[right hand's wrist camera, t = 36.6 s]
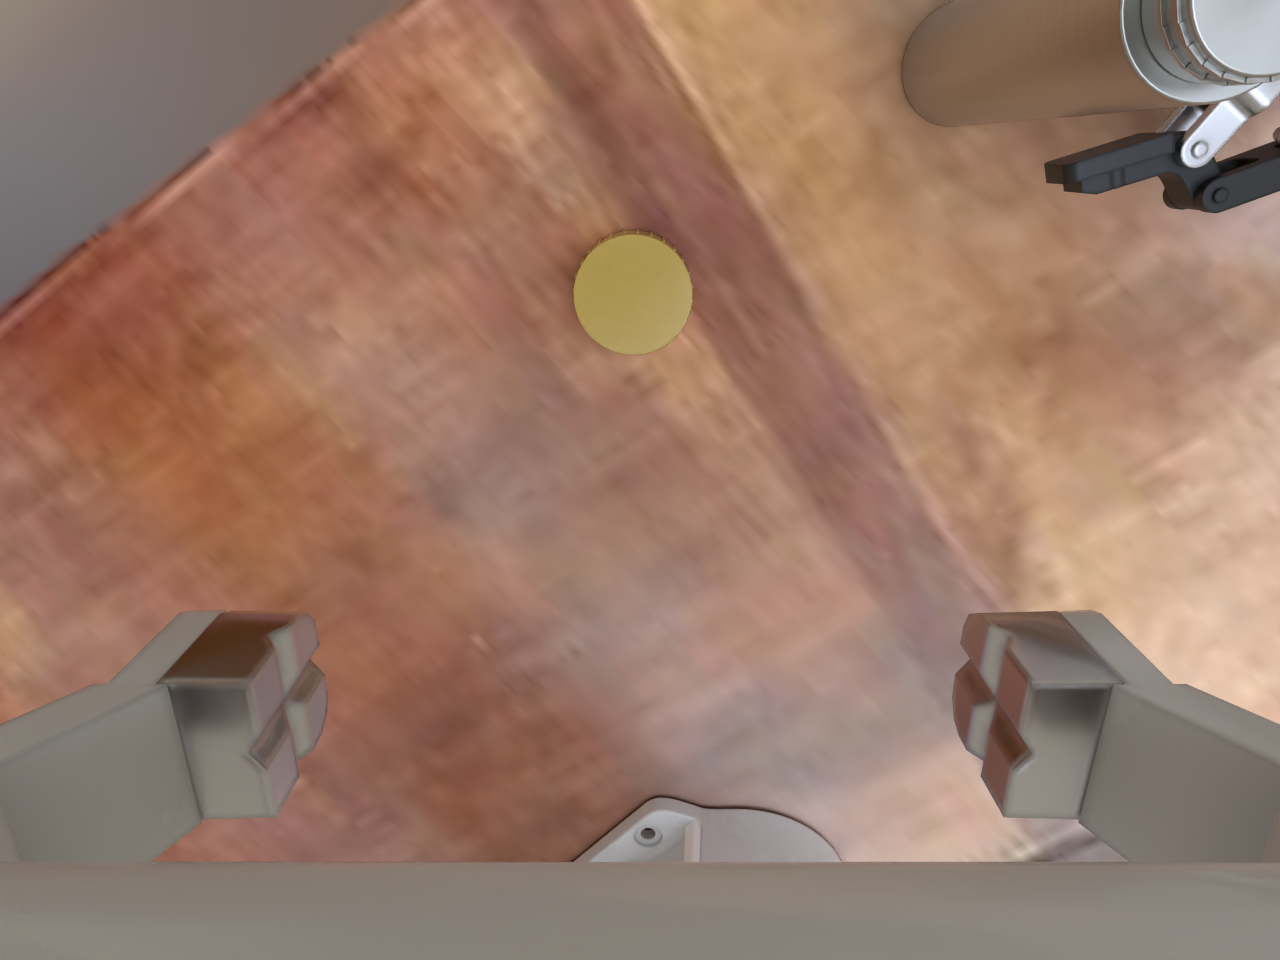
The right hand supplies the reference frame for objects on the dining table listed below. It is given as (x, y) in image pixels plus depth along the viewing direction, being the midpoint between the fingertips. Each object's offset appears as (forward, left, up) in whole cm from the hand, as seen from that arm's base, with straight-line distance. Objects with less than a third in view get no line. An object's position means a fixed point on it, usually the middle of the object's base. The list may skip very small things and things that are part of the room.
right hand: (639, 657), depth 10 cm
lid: (0, 0, -28) cm, 28 cm away
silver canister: (+16, 0, -30) cm, 34 cm away
